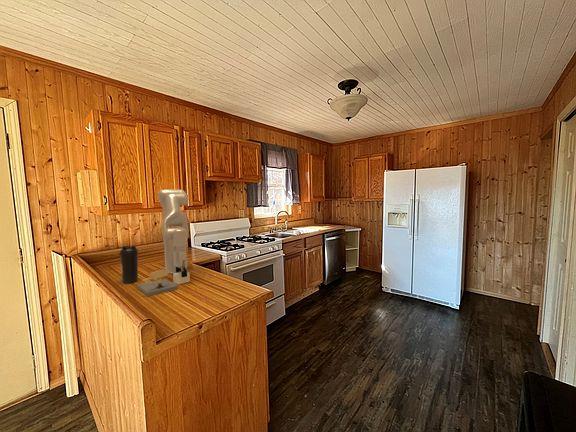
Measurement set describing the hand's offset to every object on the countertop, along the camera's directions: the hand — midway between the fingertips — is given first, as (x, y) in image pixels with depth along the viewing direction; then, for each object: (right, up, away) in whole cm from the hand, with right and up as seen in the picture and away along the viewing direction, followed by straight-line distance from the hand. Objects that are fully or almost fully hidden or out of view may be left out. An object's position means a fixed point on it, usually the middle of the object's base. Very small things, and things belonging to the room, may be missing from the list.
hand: (181, 275), depth 162 cm
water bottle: (-34, -5, +2) cm, 34 cm away
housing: (-9, -5, -12) cm, 16 cm away
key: (-7, -3, -18) cm, 19 cm away
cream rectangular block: (0, -5, 0) cm, 4 cm away
